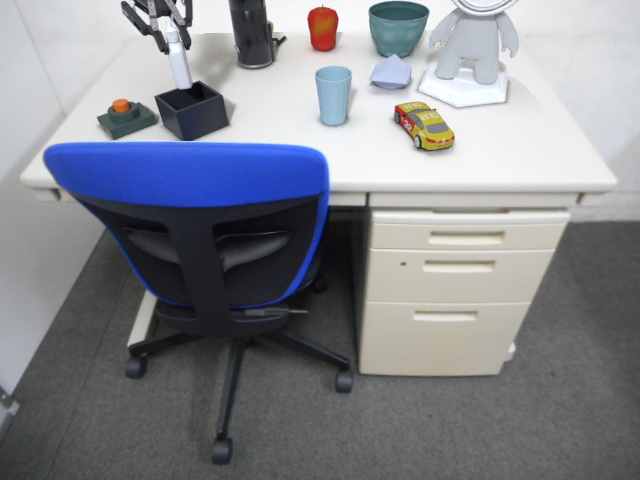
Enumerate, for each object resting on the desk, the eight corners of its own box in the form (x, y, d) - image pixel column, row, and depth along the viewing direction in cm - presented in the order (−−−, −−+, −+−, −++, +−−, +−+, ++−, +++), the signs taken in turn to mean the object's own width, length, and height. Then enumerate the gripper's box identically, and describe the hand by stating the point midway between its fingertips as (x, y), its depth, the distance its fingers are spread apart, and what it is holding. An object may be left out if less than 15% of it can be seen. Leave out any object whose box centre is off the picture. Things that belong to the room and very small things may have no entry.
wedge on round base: (404, 98, 98) (412, 74, 107) (408, 69, 93) (415, 48, 102) (367, 93, 100) (377, 71, 109) (369, 66, 95) (379, 45, 104)
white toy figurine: (413, 101, 97) (440, -88, 72) (430, 62, 112) (457, -105, 87) (503, 114, 92) (566, -85, 66) (507, 71, 106) (561, -104, 81)
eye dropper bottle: (168, 89, 83) (150, 26, 75) (180, 77, 87) (164, 15, 79) (188, 91, 83) (172, 27, 74) (199, 78, 87) (185, 16, 78)
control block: (142, 110, 97) (136, 94, 94) (157, 123, 93) (151, 106, 90) (100, 125, 93) (92, 109, 90) (113, 139, 88) (106, 123, 85)
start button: (126, 104, 92) (124, 97, 90) (132, 109, 90) (129, 102, 89) (112, 109, 90) (109, 101, 89) (118, 114, 88) (115, 107, 87)
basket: (206, 109, 97) (199, 80, 92) (229, 125, 91) (222, 95, 86) (163, 125, 92) (153, 96, 87) (184, 143, 86) (175, 113, 81)
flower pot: (434, 56, 114) (442, 14, 106) (383, 67, 110) (387, 24, 102) (404, 37, 125) (409, -3, 117) (356, 46, 121) (358, 5, 113)
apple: (305, 53, 118) (303, 8, 110) (312, 42, 124) (311, -2, 115) (335, 55, 117) (335, 9, 108) (340, 44, 122) (341, -1, 114)
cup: (342, 131, 88) (342, 84, 81) (310, 123, 91) (308, 77, 83) (356, 115, 93) (357, 69, 86) (325, 108, 96) (324, 63, 88)
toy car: (420, 110, 94) (423, 89, 90) (458, 151, 82) (464, 128, 78) (388, 116, 92) (390, 95, 89) (423, 158, 81) (427, 135, 77)
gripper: (98, -48, 71) (139, 48, 72) (178, -58, 76) (215, 32, 77) (104, -19, 78) (141, 68, 79) (177, -30, 83) (211, 52, 84)
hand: (177, 50), depth 78 cm, fingers closed on eye dropper bottle, 3 cm apart
